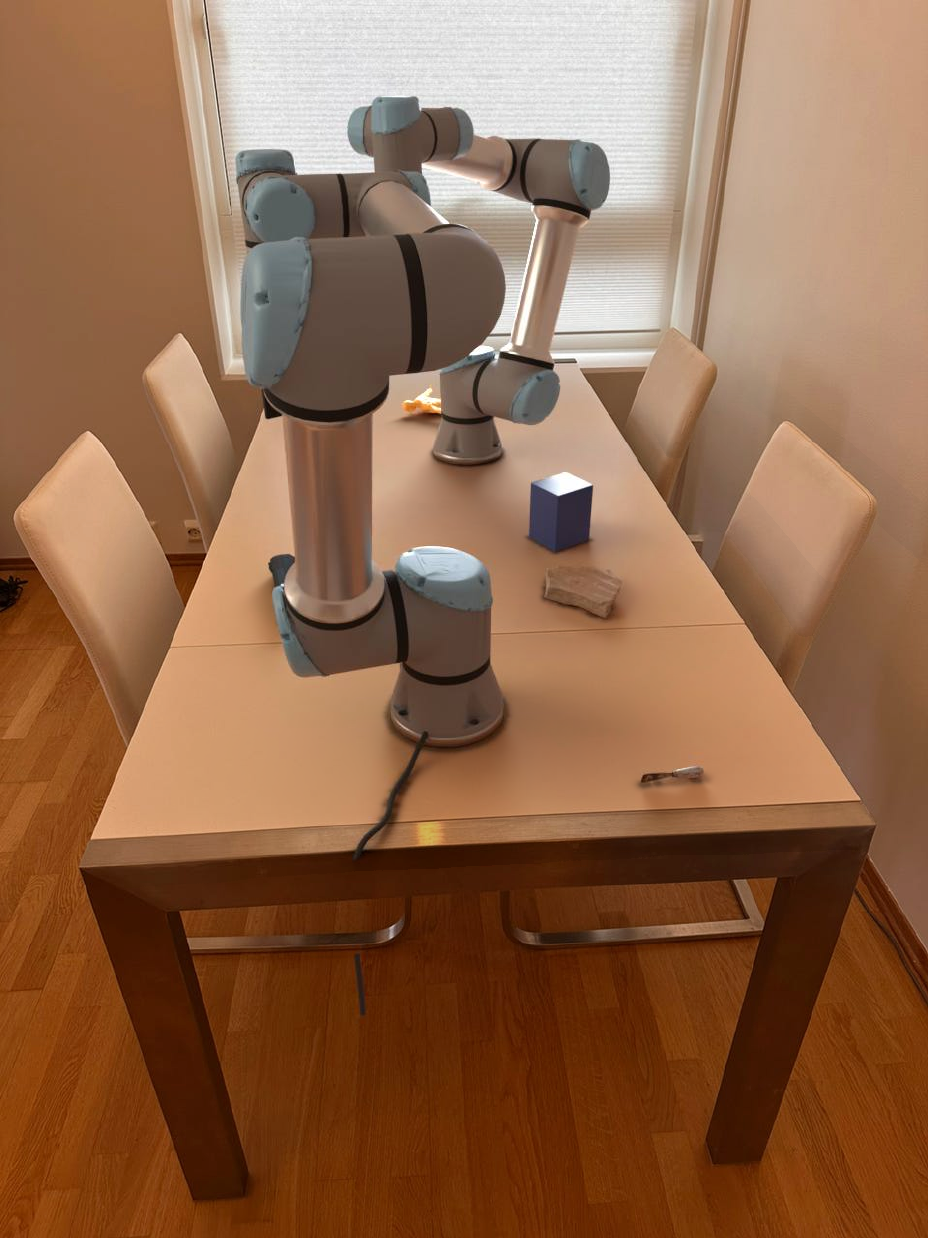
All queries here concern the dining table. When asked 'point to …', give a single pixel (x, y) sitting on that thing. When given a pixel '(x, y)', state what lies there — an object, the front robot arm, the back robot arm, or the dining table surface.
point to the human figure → (423, 403)
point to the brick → (560, 511)
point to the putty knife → (674, 774)
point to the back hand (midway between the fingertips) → (405, 341)
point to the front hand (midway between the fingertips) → (294, 429)
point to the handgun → (280, 567)
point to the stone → (583, 588)
